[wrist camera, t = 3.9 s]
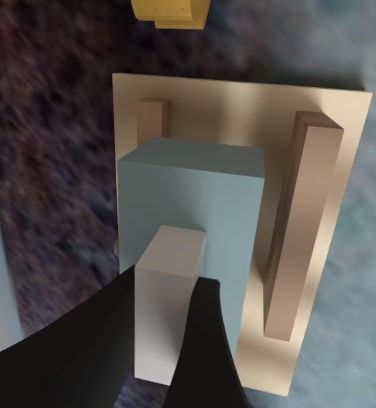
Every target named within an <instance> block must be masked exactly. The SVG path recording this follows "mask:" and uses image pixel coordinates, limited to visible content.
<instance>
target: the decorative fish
mask: <svg viewBox="0 0 376 408" xmlns="http://www.w3.org/2000/svg"><path fill="white" fill-rule="evenodd" d="M131 2H132V7H133V11H134V14H135V16H136V18H137V19H138V20H142V21H155V27H156V28H168V29H204V26H205V22H206V18H207V14H208V9H209V5H210V0H131Z"/></svg>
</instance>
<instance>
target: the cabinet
mask: <svg viewBox="0 0 376 408" xmlns="http://www.w3.org/2000/svg"><path fill="white" fill-rule="evenodd" d="M117 175H118V220H119V238H118V239H117V240H116V241H115V243H114V253H115V255H116V256H117V257H118V258H119V265H120V274H121V273H123V272H124V271H125V270H127V269H128V268H129V267H131V266H132V265H136V266H135V378H140V379H144V380H148V381H152V382H157V383H161V384H165V385H169V386H170V383H171V380H172V377H173V374H174V371H175V368H176V365H177V362H178V359H179V355H180V351H181V347H182V342H183V337H184V331H185V325H186V320H187V314H188V309H189V303H190V298H191V295H192V292H193V289H194V287H195V284H196V282H197V279H198V277H199V276H200V277H206V278H212V279H217V280H218V281H219V282H220V283H221V284H220V302H221V310H222V316H223V321H224V326H225V330H226V335H227V339H228V343H229V347H230V350H231V354H232V357H233V361H234V359H235V353H236V347H237V341H238V335H239V329H240V323H241V317H242V311H243V305H244V299H245V293H246V287H247V281H248V275H249V269H250V263H251V257H252V251H253V246H254V240H255V234H256V228H257V222H258V216H259V210H260V204H261V198H262V192H263V186H264V180H265V173H264V155H263V148H256V147H246V146H237V145H228V144H219V143H209V142H200V141H191V140H182V139H173V138H163V137H154V138H152V139H151V140H149V141H147V142H146V143H144V144H142V145H141V146H139V147H138V148H136V149H134V150H133V151H131V152H130V153H128V154H126V155H125V156H123V157H121V158H120V159H118V160H117Z"/></svg>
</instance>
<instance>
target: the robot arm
mask: <svg viewBox="0 0 376 408" xmlns="http://www.w3.org/2000/svg"><path fill="white" fill-rule="evenodd" d="M135 266H136V265H132V266H131V267H129V268H128V269H127V270H125V271H124V272H123V273H121V274H120V275H119V276H117V277H116V278H115V279H114V280H112V281H111V282H110V283H108V284H107V285H106V286H104V287H103V288H102V289H100V290H99V291H98V292H96V293H95V294H94V295H92V296H91V297H89V298H88V299H87V300H85V301H84V302H83V303H81V304H80V305H78V306H77V307H75V308H74V309H72V310H71V311H69V312H68V313H66V314H65V315H63V316H62V317H60V318H59V319H57V320H56V321H54V322H53V323H51V324H49V325H48V326H46V327H45V328H43V329H41V330H39V331H38V332H36V333H34V334H32V335H31V336H29V337H27V338H25V339H23V340H22V341H20V342H18V343H16V344H14V345H13V346H11V347H9V348H7V349H5V350H3V351H1V352H0V408H113V406H114V404H115V402H116V400H117V397H118V395H119V393H120V391H121V389H122V387H123V385H124V383H125V381H126V378H127V376H128V374H129V372H130V370H131V368H132V366H133V363H134V361H135ZM220 284H221V283H220V282H219V281H218V280H217V279H212V278H206V277H200V276H199V277H198V279H197V282H196V284H195V287H194V289H193V292H192V295H191V298H190V303H189V309H188V314H187V320H186V325H185V331H184V337H183V342H182V347H181V351H180V355H179V359H178V362H177V365H176V368H175V371H174V374H173V377H172V380H171V383H170V386H169V389H168V392H167V395H166V398H165V401H164V404H163V407H162V408H250V406H249V403H248V401H247V398H246V396H245V393H244V390H243V388H242V385H241V382H240V379H239V376H238V373H237V370H236V367H235V364H234V361H233V357H232V354H231V350H230V347H229V343H228V339H227V335H226V330H225V326H224V321H223V316H222V310H221V302H220Z"/></svg>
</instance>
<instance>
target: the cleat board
mask: <svg viewBox="0 0 376 408" xmlns="http://www.w3.org/2000/svg"><path fill="white" fill-rule="evenodd" d="M112 77H113V103H114V130H115V156H116V182H117V208H118V175H117V160H118V159H120V158H121V157H123V156H125V155H126V154H128V153H130V152H131V151H133V150H134V149H136V148H138V147H139V146H141V145H142V144H144V143H146V142H147V141H149V140H151V139H152V138H154V137H163V138H173V139H182V140H191V141H200V142H209V143H219V144H228V145H237V146H246V147H256V148H263V155H264V173H265V180H264V186H263V192H262V198H261V204H260V210H259V216H258V222H257V228H256V234H255V240H254V246H253V251H252V257H251V263H250V269H249V275H248V281H247V287H246V293H245V299H244V305H243V311H242V317H241V323H240V329H239V335H238V341H237V347H236V353H235V359H234V364H235V367H236V370H237V373H238V376H239V379H240V382H241V385H242V386H243V387H247V388H251V389H256V390H260V391H265V392H269V393H273V394H278V395H282V396H287V394H288V391H289V387H290V384H291V380H292V377H293V373H294V370H295V366H296V363H297V359H298V355H299V352H300V348H301V345H302V341H303V338H304V334H305V331H306V327H307V324H308V320H309V317H310V313H311V310H312V306H313V302H314V299H315V295H316V292H317V288H318V285H319V281H320V278H321V274H322V271H323V267H324V264H325V260H326V257H327V253H328V249H329V246H330V242H331V239H332V235H333V232H334V228H335V225H336V221H337V218H338V214H339V211H340V207H341V204H342V200H343V196H344V193H345V189H346V186H347V182H348V179H349V175H350V172H351V168H352V165H353V161H354V158H355V154H356V151H357V147H358V143H359V140H360V136H361V133H362V129H363V126H364V122H365V119H366V115H367V112H368V108H369V105H370V101H371V98H372V94H373V93H372V92H368V91H360V90H346V89H333V88H319V87H306V86H292V85H279V84H265V83H252V82H238V81H224V80H211V79H197V78H184V77H170V76H157V75H143V74H130V73H112ZM118 235H119V220H118ZM134 362H135V361H134Z"/></svg>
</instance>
